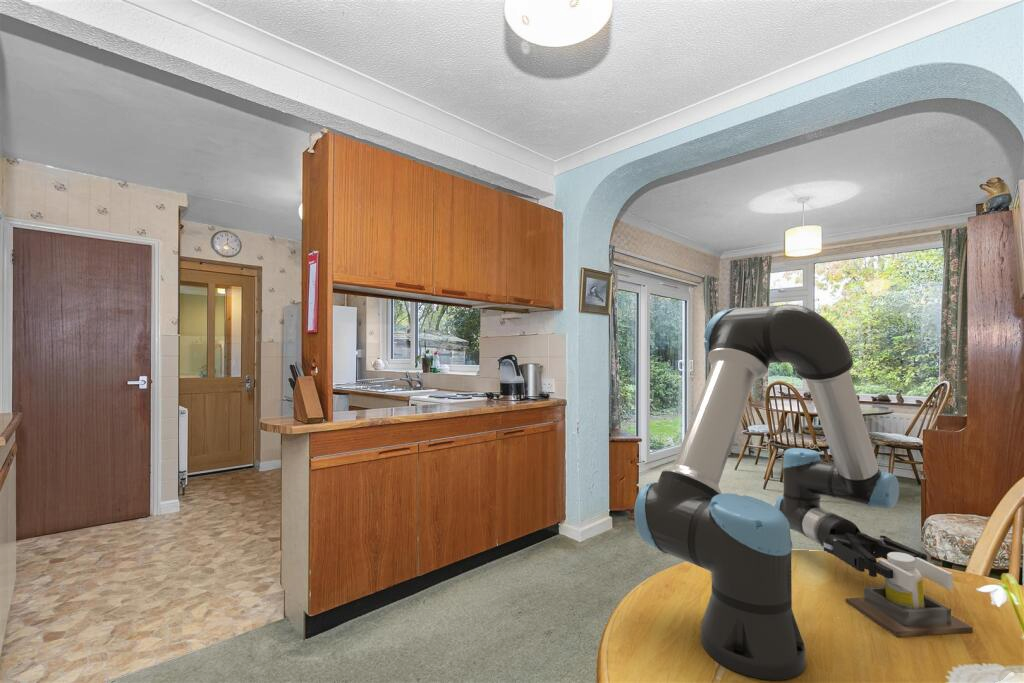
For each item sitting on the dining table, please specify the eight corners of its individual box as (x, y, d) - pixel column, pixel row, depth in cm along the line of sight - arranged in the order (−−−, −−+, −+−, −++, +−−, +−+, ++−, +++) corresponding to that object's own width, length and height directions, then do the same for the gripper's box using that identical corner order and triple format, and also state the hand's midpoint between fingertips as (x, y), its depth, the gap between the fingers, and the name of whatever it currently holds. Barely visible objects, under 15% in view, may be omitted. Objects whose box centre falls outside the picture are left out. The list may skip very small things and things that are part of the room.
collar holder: (896, 636, 82) (895, 616, 82) (846, 602, 93) (845, 584, 93) (972, 631, 83) (972, 612, 83) (914, 598, 94) (914, 581, 94)
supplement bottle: (910, 602, 90) (906, 549, 90) (933, 619, 85) (928, 563, 85) (879, 602, 91) (875, 550, 91) (899, 619, 85) (895, 563, 85)
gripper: (873, 547, 107) (984, 601, 84) (789, 550, 105) (878, 607, 82) (873, 512, 107) (983, 557, 84) (789, 515, 105) (878, 562, 82)
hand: (931, 582), depth 83 cm, fingers open, 6 cm apart
